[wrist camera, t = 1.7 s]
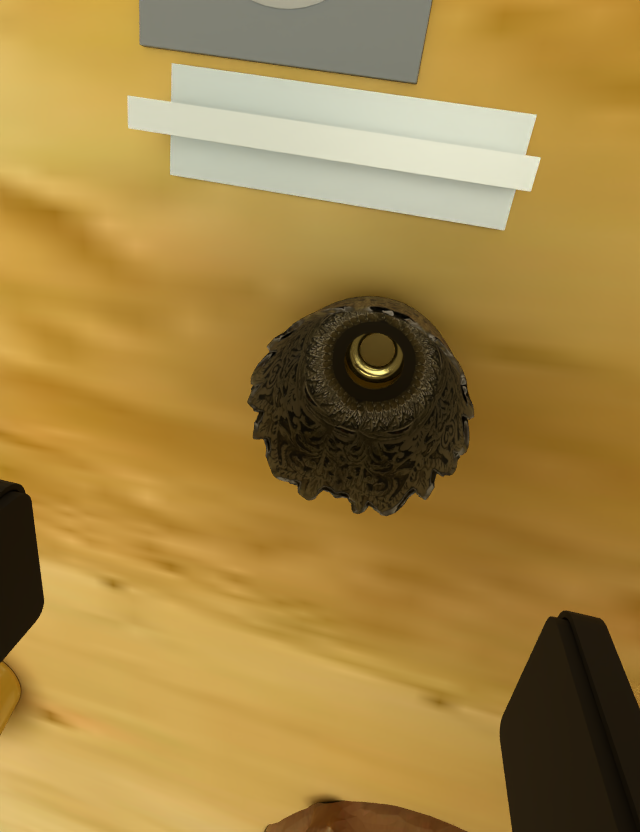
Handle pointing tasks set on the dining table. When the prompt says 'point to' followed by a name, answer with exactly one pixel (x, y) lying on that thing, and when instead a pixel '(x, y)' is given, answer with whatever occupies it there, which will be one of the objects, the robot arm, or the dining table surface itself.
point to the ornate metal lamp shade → (361, 406)
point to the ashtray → (359, 819)
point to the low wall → (343, 144)
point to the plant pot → (7, 694)
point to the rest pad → (296, 33)
